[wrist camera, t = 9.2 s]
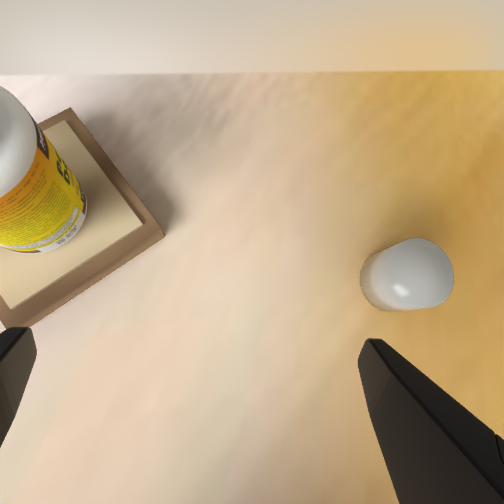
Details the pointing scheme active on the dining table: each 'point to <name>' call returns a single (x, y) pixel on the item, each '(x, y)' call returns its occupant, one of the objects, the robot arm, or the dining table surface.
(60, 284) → the tan flat square block
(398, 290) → the white rounded knob
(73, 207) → the supplement bottle
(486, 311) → the dining table surface
